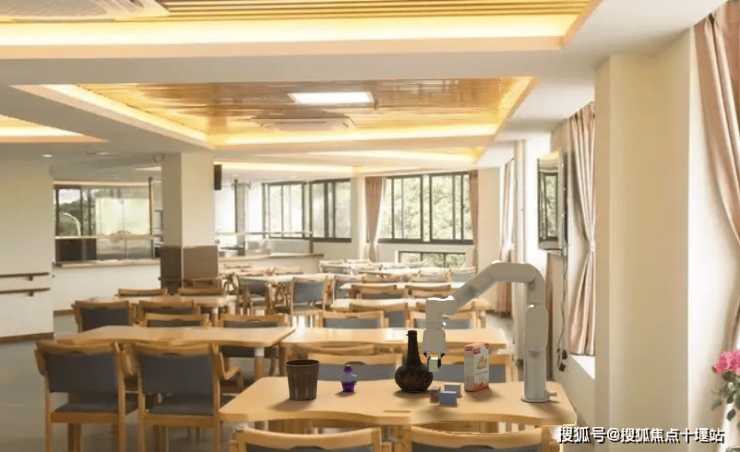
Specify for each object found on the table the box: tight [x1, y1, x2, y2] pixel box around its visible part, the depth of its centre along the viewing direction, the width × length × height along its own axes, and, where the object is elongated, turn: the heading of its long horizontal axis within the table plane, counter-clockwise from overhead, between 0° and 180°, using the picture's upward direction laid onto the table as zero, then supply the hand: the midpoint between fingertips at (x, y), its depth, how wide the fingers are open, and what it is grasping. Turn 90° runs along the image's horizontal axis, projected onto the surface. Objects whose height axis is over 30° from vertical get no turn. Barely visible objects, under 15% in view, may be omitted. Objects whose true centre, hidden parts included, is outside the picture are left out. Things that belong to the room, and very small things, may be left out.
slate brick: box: [443, 382, 462, 397], centre depth 376 cm, size 7×4×5 cm, turn 75°
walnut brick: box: [429, 385, 442, 402], centre depth 368 cm, size 4×7×5 cm, turn 165°
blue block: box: [438, 390, 458, 406], centre depth 359 cm, size 7×4×5 cm, turn 75°
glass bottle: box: [394, 329, 434, 393], centre depth 387 cm, size 18×18×28 cm
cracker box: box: [463, 341, 490, 392], centre depth 389 cm, size 14×6×21 cm, turn 143°
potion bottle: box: [339, 364, 358, 393], centre depth 389 cm, size 9×9×12 cm
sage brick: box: [428, 356, 441, 373], centre depth 368 cm, size 4×7×5 cm, turn 165°
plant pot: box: [283, 358, 321, 401], centre depth 376 cm, size 16×16×16 cm
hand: (434, 367), depth 368 cm, fingers closed on sage brick, 3 cm apart
